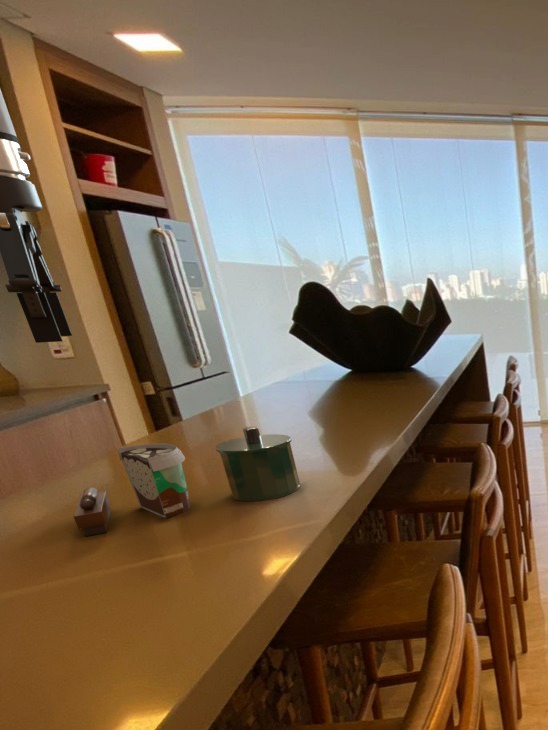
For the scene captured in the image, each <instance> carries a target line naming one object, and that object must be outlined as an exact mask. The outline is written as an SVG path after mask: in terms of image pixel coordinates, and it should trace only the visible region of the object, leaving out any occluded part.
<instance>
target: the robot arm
mask: <svg viewBox="0 0 548 730" xmlns="http://www.w3.org/2000/svg"><path fill="white" fill-rule="evenodd" d="M13 124H14V123H13V121H12V118H11V116H10V112H9V110H8V107H7V105H6V101H5V99H4V95H3V92H2V90H1V88H0V255H1V258H2V262H3V265H4V268H5V271H6V274H7V277H8V280H7V282H8V284H5V288H6V290H7V293H16V297H17V299H18V301H19V303H20V307H21V309H22V311H23V313H24V317H25V319H26V321H27V324H28V326H29V329H30V331H31V335H32V336H33V340H34V341H35V343H37V344H38V343H57V342H59V343H61V342H63V341H64V340H63V337H73V333H72V330H71V328H70V325H69V322H68V319H67V316H66V313H65V311H64V308H63V306H62V303H61V300H60V298H59V295H58V293H59V292H60V293H62V292H63V289H62V287H61V285H60V284H56V282H55V281H54V279H53V277H52V275H51V273H50V269H49V268H48V264H47V263H46V260H45V258H44V256H43V252H42V248H41V245H40V243H39V242H38V234H37V232H36V229H35V227H34V226H32V224H31V223H30V222H29V220H25V218H24V216H23V214H22V213H37V212H41V211H42V210H43V205H42V203H41V199H40V197H39V194H38V192H37V188H36V185H35V184H34V183H32V181H29V180H26V179H28V178H29V177H30V176H31V174H30V171H29V168H28V164H27V163H26V162H25V161H31V155H30V154H29V153H28V152H24V151H21V150H22V148H21V145H20V143H19V140H18V136H17V133H16V130H15V127H14V125H13Z"/></svg>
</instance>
